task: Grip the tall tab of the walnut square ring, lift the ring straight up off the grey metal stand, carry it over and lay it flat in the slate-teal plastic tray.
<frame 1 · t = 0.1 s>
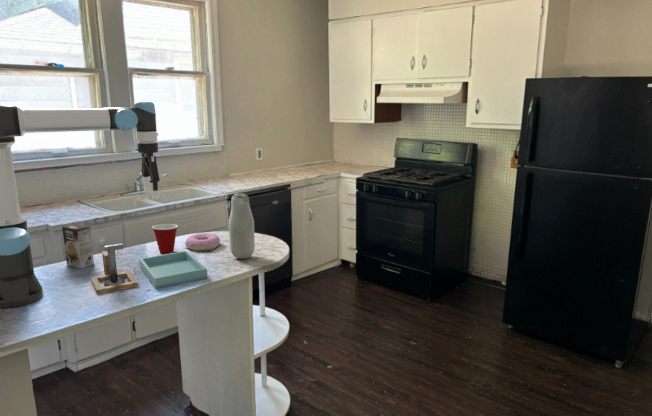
hand: (151, 195, 192), 28 cm above the counter, tool pointing down, fingers open, 13 cm apart
coffee box: (80, 265, 194), on the counter
donut: (203, 247, 218), on the counter
plastic cup: (167, 252, 211), on the counter
glass bottle: (242, 258, 203), on the counter
grey metal stand: (114, 283, 175), on the counter
tray: (172, 272, 186), on the counter
ring: (114, 283, 175), on the counter
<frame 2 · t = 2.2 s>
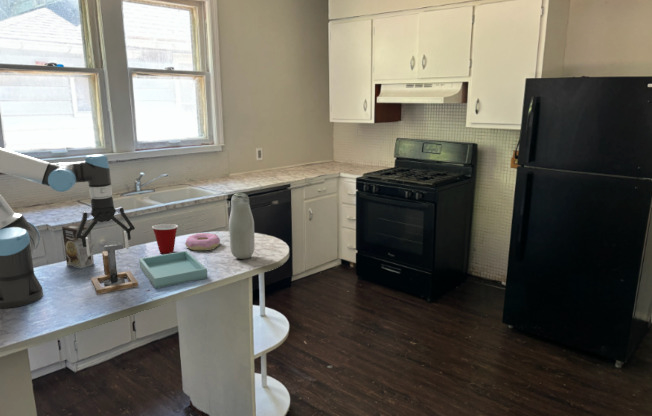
hand: (108, 251, 182), 9 cm above the counter, tool pointing down, fingers open, 13 cm apart
nothing on the counter moved.
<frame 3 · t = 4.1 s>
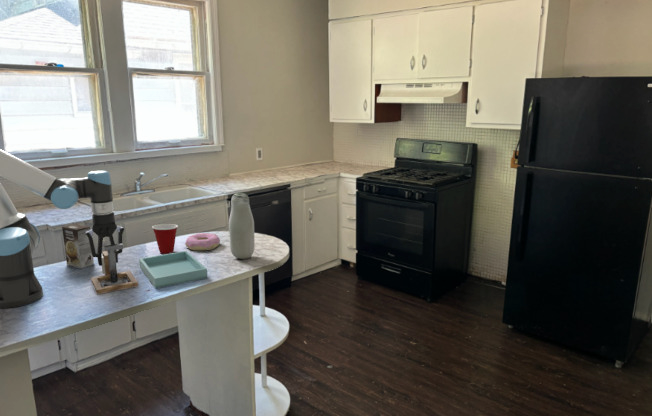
hand: (109, 272, 183), 1 cm above the counter, tool pointing down, fingers closed on ring, 3 cm apart
ring: (114, 283, 175), on the counter, touching gripper
everything else where it was.
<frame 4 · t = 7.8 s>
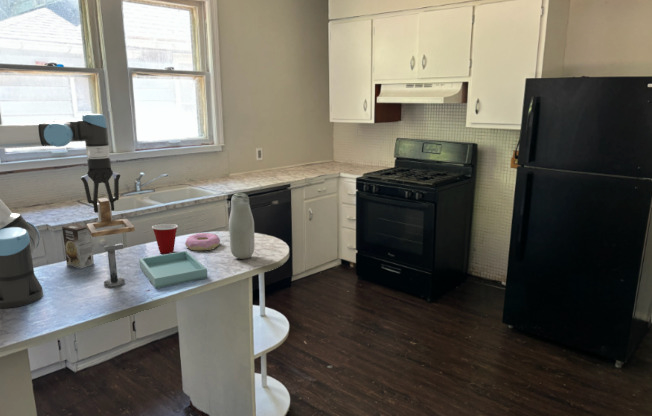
hand: (105, 219, 179), 22 cm above the counter, tool pointing down, fingers closed on ring, 3 cm apart
ring: (110, 229, 170), point 21 cm above the counter, touching gripper
everything else where it was.
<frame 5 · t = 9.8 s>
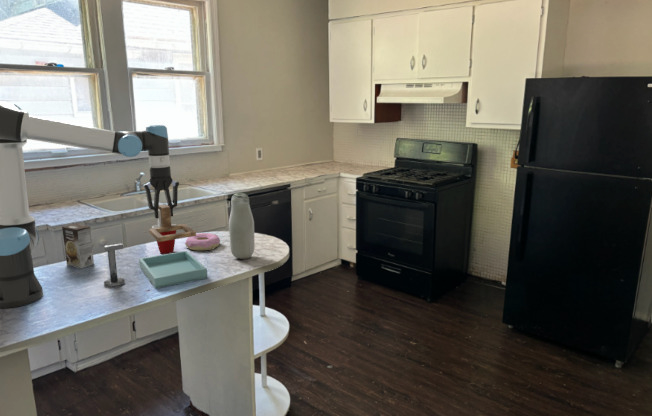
hand: (164, 225, 188), 17 cm above the counter, tool pointing down, fingers closed on ring, 3 cm apart
ring: (172, 234, 180), point 16 cm above the counter, touching gripper
everything else where it was.
when the fingers open (4 cm above the counter, at t = 11.6 s): ring drops 2 cm, resting on tray.
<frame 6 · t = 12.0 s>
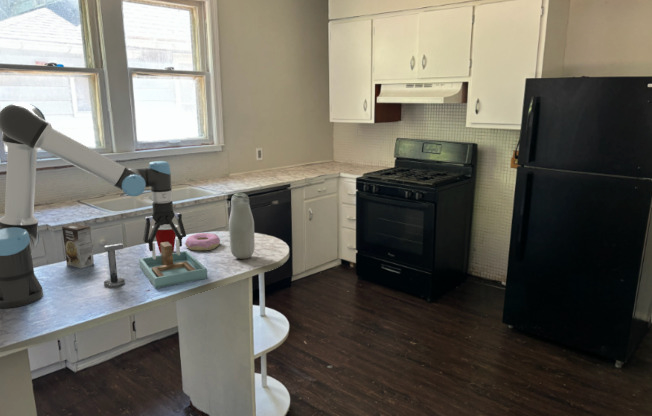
hand: (166, 256, 191), 4 cm above the counter, tool pointing down, fingers open, 9 cm apart
ring: (174, 273, 183), point 1 cm above the counter, touching tray
everything else where it was.
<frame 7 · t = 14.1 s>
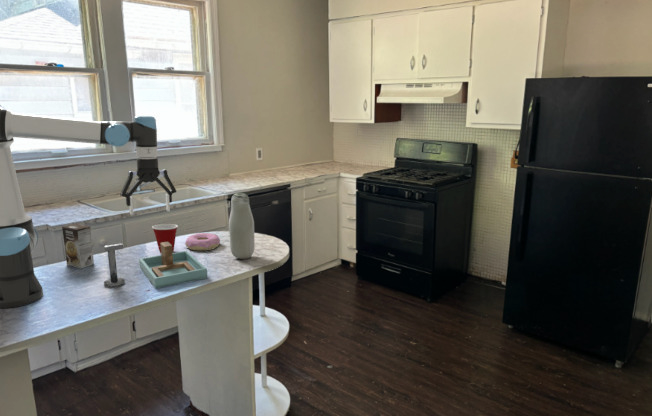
hand: (150, 212, 186), 23 cm above the counter, tool pointing down, fingers open, 13 cm apart
nothing on the counter moved.
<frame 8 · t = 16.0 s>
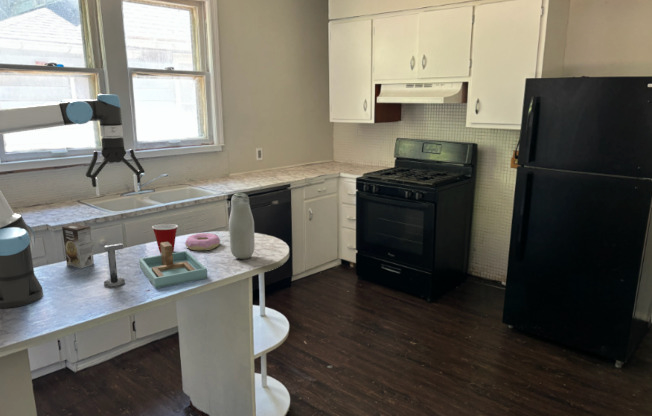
hand: (117, 193, 181), 31 cm above the counter, tool pointing down, fingers open, 13 cm apart
nothing on the counter moved.
at the end: ring 0.1 cm from the target spot on the tray, point 0.8 cm above the tray's base; ring tilted 0°; the gripper is holding nothing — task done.
